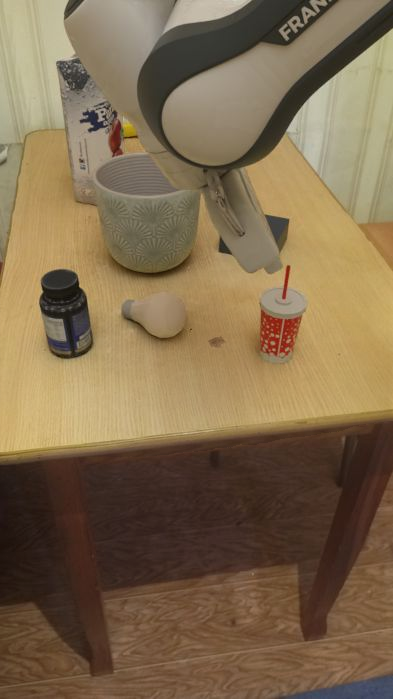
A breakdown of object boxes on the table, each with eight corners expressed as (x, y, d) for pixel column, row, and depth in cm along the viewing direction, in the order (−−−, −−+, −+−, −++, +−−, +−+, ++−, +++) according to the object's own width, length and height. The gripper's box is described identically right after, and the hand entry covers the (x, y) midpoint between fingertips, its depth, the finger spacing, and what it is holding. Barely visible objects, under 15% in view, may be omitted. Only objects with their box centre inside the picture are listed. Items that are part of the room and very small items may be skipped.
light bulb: (105, 293, 79) (164, 301, 73) (136, 280, 84) (194, 287, 78) (111, 336, 82) (169, 348, 75) (142, 322, 86) (199, 332, 80)
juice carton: (69, 203, 111) (48, 52, 93) (93, 182, 118) (78, 39, 101) (110, 211, 108) (96, 58, 91) (132, 189, 116) (123, 44, 98)
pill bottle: (87, 327, 81) (78, 261, 74) (98, 353, 77) (89, 286, 70) (44, 337, 79) (30, 270, 72) (53, 364, 75) (39, 296, 68)
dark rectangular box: (286, 238, 102) (289, 218, 99) (274, 263, 95) (277, 242, 93) (234, 228, 104) (235, 208, 102) (218, 251, 98) (219, 231, 95)
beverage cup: (297, 340, 80) (312, 254, 71) (298, 369, 75) (315, 281, 66) (254, 337, 80) (263, 251, 71) (253, 365, 75) (263, 278, 66)
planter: (127, 227, 104) (121, 145, 94) (213, 244, 100) (217, 160, 90) (82, 274, 92) (70, 185, 82) (179, 295, 87) (178, 205, 78)
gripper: (252, 182, 44) (318, 287, 53) (210, 80, 58) (268, 178, 67) (185, 223, 46) (260, 318, 55) (160, 115, 60) (223, 205, 69)
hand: (264, 240), depth 61 cm, fingers open, 8 cm apart
